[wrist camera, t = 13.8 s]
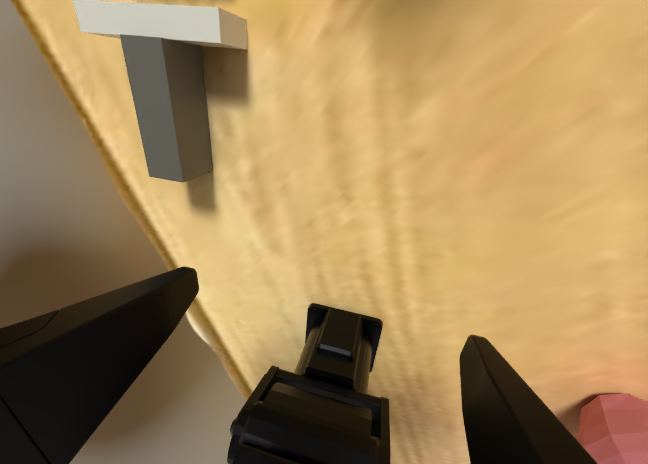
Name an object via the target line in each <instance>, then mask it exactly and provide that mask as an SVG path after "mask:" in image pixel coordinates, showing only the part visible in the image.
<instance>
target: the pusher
mask: <svg viewBox="0 0 648 464" xmlns="http://www.w3.org/2000/svg"><path fill="white" fill-rule="evenodd" d="M73 3H74V7H75V11H76V15H77V19H78V22H79V26H80V30H81V32H85V33H90V34H96V35H102V36H108V37H114V38H119V39H121V42H122V47H123V52H124V57H125V62H126V66H127V71H128V76H129V81H130V86H131V90H132V95H133V100H134V105H135V110H136V114H137V119H138V124H139V129H140V134H141V138H142V143H143V148H144V153H145V157H146V162H147V167H148V172H149V176H150V177H155V178H161V179H166V180H172V181H177V182H186V181H188V180H190V179H193V178H195V177H197V176H200V175H202V174H204V173H207V172H209V171H211V170H213V163H212V152H211V142H210V132H209V122H208V112H207V101H206V91H205V81H204V71H203V60H202V50H201V46H210V47H222V48H234V49H246V50H247V22H246V19H244V18H242V17H239V16H237V15H235V14H232V13H230V12H228V11H225V10H223V9H221V8H218V7H201V6H183V5H166V4H148V3H130V2H113V1H95V0H73Z"/></svg>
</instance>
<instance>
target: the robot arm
mask: <svg viewBox="0 0 648 464" xmlns="http://www.w3.org/2000/svg"><path fill="white" fill-rule="evenodd" d="M198 291H199V284H198V278H197V272H196V270H195V269H193V268H189V267H180V268H177V269H175V270H172V271H169V272H166V273H163V274H160V275H157V276H155V277H151V278H148V279H145V280H143V281H140V282H137V283H134V284H131V285H128V286H125V287H122V288H120V289H116V290H113V291H111V292H108V293H105V294H102V295H99V296H96V297H93V298H90V299H88V300H85V301H82V302H79V303H76V304H73V305H70V306H67V307H64V308H61V309H60V310H55V311H52V312H50V313H47V314H44V315H41V316H38V317H35V318H32V319H29V320H26V321H23V322H19V323H16V324H13V325H10V326H7V327H3V328H0V464H69V463H70V462H71V461H72V459H73V458H74V457H75V456H76V454H77V453H78V452H79V451H80V449H81V448H82V447H83V445H84V444H85V443H86V442H87V440H88V439H89V438H90V436H91V435H92V434H93V433H94V431H95V430H96V429H97V428H98V426H99V425H100V424H101V423H102V421H103V420H104V419H105V417H106V416H107V415H108V414H109V412H110V411H111V410H112V408H113V407H114V406H115V405H116V404H117V402H118V401H119V400H120V398H121V397H122V396H123V395H124V393H125V392H126V391H127V389H128V388H129V387H130V386H131V384H132V383H133V382H134V381H135V379H136V378H137V377H138V375H139V374H140V373H141V372H142V370H143V369H144V368H145V367H146V365H147V364H148V363H149V362H150V360H151V359H152V358H153V357H154V355H155V354H156V353H157V351H158V350H159V349H160V348H161V346H162V345H163V344H164V343H165V341H166V340H167V339H168V337H169V336H170V335H171V334H172V332H173V331H174V329H175V328H176V326H177V325H178V323H179V322H180V320H181V319H182V317H183V316H184V314H185V312H186V311H187V309H188V308H189V306H190V305H191V303H192V302H193V300H194V298H195V297H196V295H197V293H198ZM313 309H315V310H313ZM375 324H378V325H375ZM382 325H383V322H382V321H381V320H380V319H377V318H373V317H369V316H365V315H361V314H357V313H353V312H348V311H344V310H340V309H336V308H332V307H328V306H323V305H319V304H315V303H312V304H310V305H309V308H308V314H307V327H306V341H305V346H304V349H303V352H302V354H301V357H300V359H299V362H298V365H297V367H296V370H295V372H294V373H292V372H289V371H285V370H282V369H279V367H276V366H271V368H270V369H269V371H268V372H267V374H265V375H264V377H263V378H262V380H261V381H260V382H259V384H258V385H257V387H256V388H255V390H254V391H253V393H252V394H251V396H250V397H249V399H248V400H247V402H246V403H245V405H244V406H243V408H242V409H241V411H240V412H239V414H238V417H237V418H236V419H235V420H234V421H233V422H232V425H231V427H230V432H231V436H232V439H231V442H230V446H229V451H228V458H227V460H228V464H390V425H389V399H387V398H383V397H381V398H378V397H375V396H371V395H368V394H367V387H368V379H369V373H370V372H371V371H372V367H373V363H374V359H375V355H376V351H377V347H378V343H379V339H380V335H381V331H382ZM460 377H461V395H462V411H463V419H464V426H465V432H466V438H467V444H468V450H469V456H470V462H471V464H598V463H597V462H596V461H595V460H594V459H593V457H592V456H591V455H590V454H589V453H588V452H587V451H586V450H585V449H584V447H583V446H582V445H581V444H580V443H579V442H578V441H577V440H576V438H575V437H574V436H573V435H572V434H571V433H570V432H569V431H568V429H567V428H566V427H565V426H564V425H563V424H562V423H561V422H560V420H559V419H558V418H557V417H556V416H555V415H554V414H553V413H552V412H551V410H550V409H549V408H548V407H547V406H546V405H545V404H544V403H543V401H542V400H541V399H540V398H539V397H538V396H537V395H536V394H535V392H534V391H533V390H532V389H531V388H530V387H529V386H528V385H527V383H526V382H525V381H524V380H523V379H522V378H521V377H520V376H519V375H518V373H517V372H516V371H515V370H514V369H513V368H512V367H511V366H510V364H509V363H508V362H507V361H506V360H505V359H504V358H503V357H502V355H501V354H500V353H499V352H498V351H497V350H496V349H495V348H494V346H493V345H492V344H491V343H490V342H489V341H488V340H487V339H486V338H484V337H480V336H476V335H470V336H469V337H468V338H467V341H466V343H465V345H464V347H463V349H462V352H461V354H460Z"/></svg>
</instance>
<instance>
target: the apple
mask: <svg viewBox="0 0 648 464" xmlns="http://www.w3.org/2000/svg"><path fill="white" fill-rule="evenodd" d="M577 441H578V442H579V443H580V444H581V445H582V446H583V447H584V449H585V450H586V451H587V452H588V453H589V454H590V455H591V456H592V457H593V459H594V460H595V461H596V462H597V463H598V464H648V401H643V400H641V399H639V398H637V397H634V396H632V395H630V394H607V395H599V396H597V397H596V398H595V399H593V400H592V401H591V402H590V403H588V404H587V405H585V406H583V407H582V409H581V415H580V428H579V432H578V436H577Z"/></svg>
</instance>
